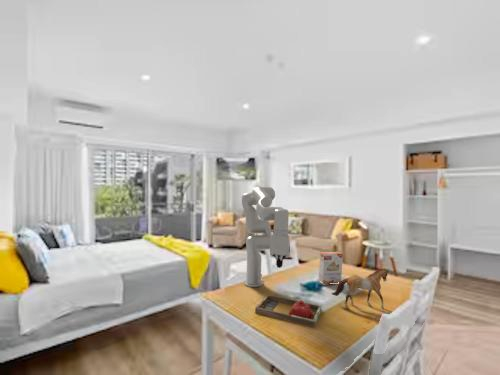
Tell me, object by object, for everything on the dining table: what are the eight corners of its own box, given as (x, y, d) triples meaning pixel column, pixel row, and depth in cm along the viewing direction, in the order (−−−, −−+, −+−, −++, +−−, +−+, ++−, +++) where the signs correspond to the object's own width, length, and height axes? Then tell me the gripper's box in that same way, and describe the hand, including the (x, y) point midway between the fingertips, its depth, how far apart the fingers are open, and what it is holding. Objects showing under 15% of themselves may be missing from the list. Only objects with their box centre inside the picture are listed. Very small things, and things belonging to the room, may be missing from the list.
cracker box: (323, 286, 176) (324, 254, 176) (318, 282, 182) (319, 251, 182) (341, 284, 180) (342, 253, 180) (336, 281, 186) (337, 251, 185)
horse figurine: (385, 303, 153) (386, 267, 152) (392, 310, 145) (394, 272, 145) (330, 302, 152) (332, 266, 152) (335, 309, 145) (336, 271, 144)
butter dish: (309, 325, 128) (310, 307, 128) (286, 319, 133) (286, 302, 132) (314, 314, 138) (315, 298, 138) (292, 309, 143) (293, 293, 143)
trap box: (267, 298, 155) (267, 294, 155) (321, 310, 142) (321, 305, 142) (255, 312, 138) (255, 307, 138) (314, 327, 126) (314, 321, 126)
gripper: (264, 232, 142) (263, 266, 142) (292, 235, 136) (291, 271, 136) (269, 229, 149) (268, 262, 149) (296, 232, 143) (295, 267, 143)
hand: (279, 266), depth 143 cm, fingers closed
